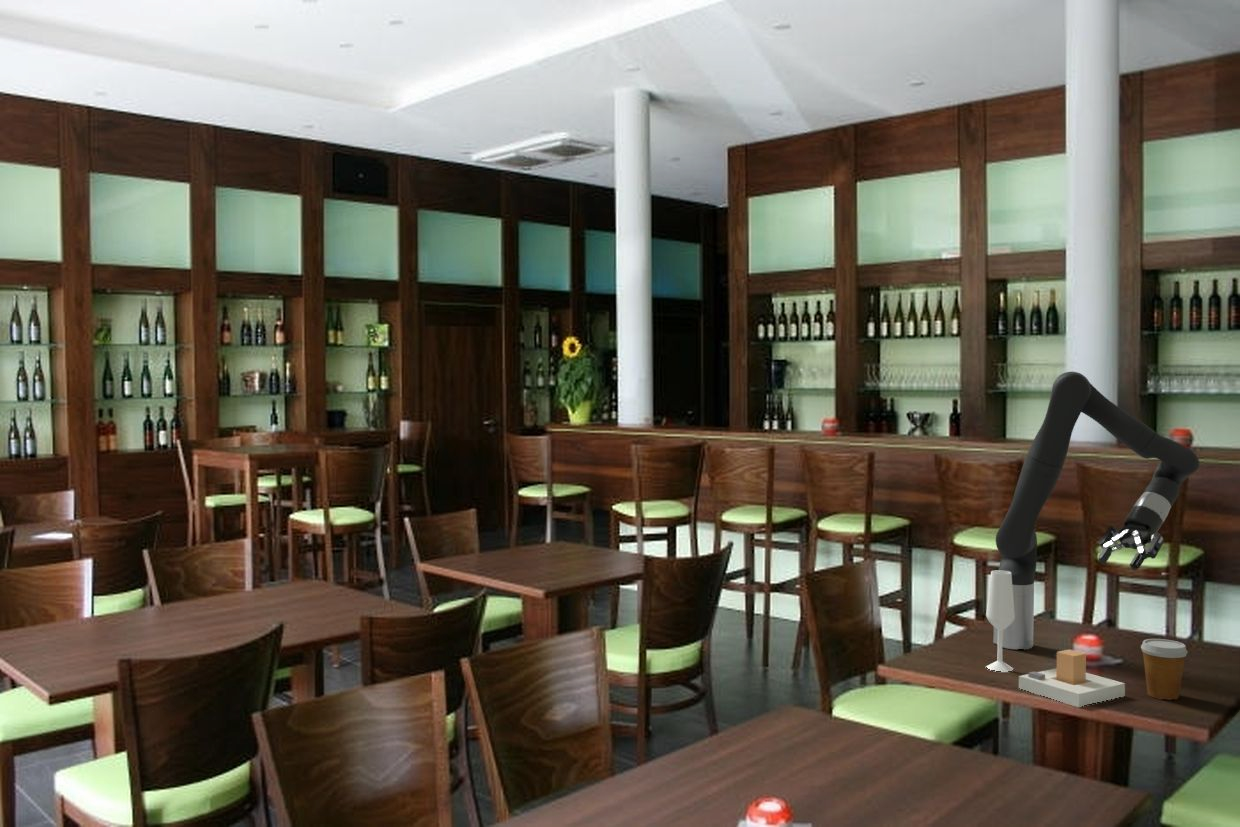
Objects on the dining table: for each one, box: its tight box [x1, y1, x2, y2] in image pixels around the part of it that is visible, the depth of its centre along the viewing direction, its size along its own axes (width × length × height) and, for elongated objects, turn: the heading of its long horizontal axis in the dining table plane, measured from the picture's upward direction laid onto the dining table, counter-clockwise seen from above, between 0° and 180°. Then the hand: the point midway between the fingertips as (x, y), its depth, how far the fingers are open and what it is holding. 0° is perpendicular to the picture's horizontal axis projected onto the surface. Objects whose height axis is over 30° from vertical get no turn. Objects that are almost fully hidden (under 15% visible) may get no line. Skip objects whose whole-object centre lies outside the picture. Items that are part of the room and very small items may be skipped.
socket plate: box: [1018, 667, 1126, 708], centre depth 248 cm, size 16×16×4 cm
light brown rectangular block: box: [1056, 648, 1087, 685], centre depth 248 cm, size 4×4×9 cm
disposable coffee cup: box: [1140, 638, 1189, 701], centre depth 245 cm, size 10×10×12 cm
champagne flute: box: [985, 569, 1015, 673], centre depth 267 cm, size 7×7×24 cm
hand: (1116, 565), depth 261 cm, fingers open, 8 cm apart
